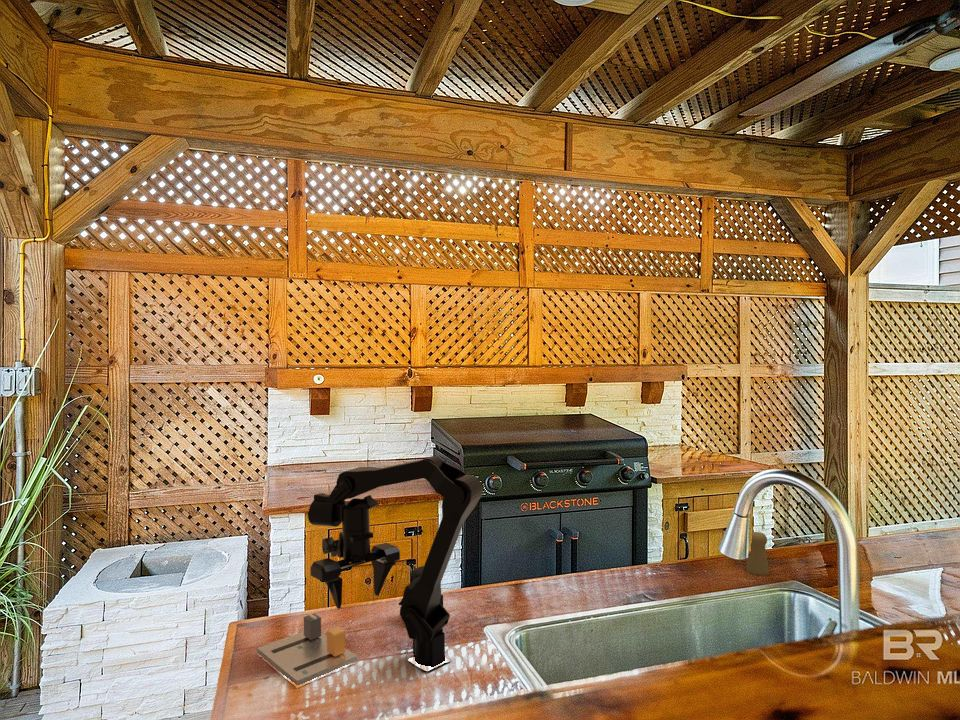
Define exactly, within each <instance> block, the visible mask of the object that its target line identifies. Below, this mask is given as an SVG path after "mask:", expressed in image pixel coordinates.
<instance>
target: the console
mask: <svg viewBox="0 0 960 720" xmlns="http://www.w3.org/2000/svg"><path fill="white" fill-rule="evenodd" d="M257 653H258V654H259V655H261V656H262V657H263V658H264V659H265V660H267V661H268V662H269V663H270V664H271V665H272V666H274V667H275V668H276V669H277V670H278V671H280V672H281V673H282V674H283V675H285V676H286V677H287V678H289V679H290V680H291V681H292V682H294V683H295V684H296V685H300V684H303V683H305V682H307V681H310V680H312V679H314V678H316V677H319V676H321V675H324V674H326V673H329V672H331V671H333V670H335V669H338V668H340V667H342V666H345V665H348V664H350V663H353V662H355V661H357V660H358V655H357V654H355V653H354V652H352V651H351V650H350V649H347V648H346V647H345V653H342V654H340V655H337V656H335V657H334V656H333V655H331V654H330V653H329V652H327V634H325V633H323V632H322V631H321V636H320V637H318V638H315V639H312V640H310V639H308V638H307V637H305V636H304V630H303V631H300V632H298V633H295V634H293V635H289V636H287V637H284V638H282V639H278V640H275V641H272V642H270V643H267V644H264V645H261V646H258V647H257V648H256V654H257ZM358 661H359V660H358Z"/></svg>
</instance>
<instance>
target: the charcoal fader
mask: <svg viewBox="0 0 960 720" xmlns="http://www.w3.org/2000/svg"><path fill="white" fill-rule="evenodd" d="M303 631H304V636H305V637H307V638H308V639H310V640H312V639H315V638H318V637H320V636H321V632H322V617H321V616H319V615H318V614H316V613H311V612H310V613H309V612H308V613H307V615H306V616H303Z"/></svg>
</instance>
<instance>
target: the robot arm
mask: <svg viewBox="0 0 960 720" xmlns="http://www.w3.org/2000/svg"><path fill="white" fill-rule="evenodd" d="M420 479H425V481H427V482H428V483H429V484H430V486H431V487H432V489H433V490H434V491H435V492H436V493H437V494H438V495H440V496H441V497H442V502H441V514H442V515H441V520H440V523H439V526H438V528H437V531H436V533H435V536H434V538H433V542H432V544H431V547H430V550H429V552H428V555H427V557H426V561H425V563H424V565H423V566H424V568H423V570H422V573H421V576H420V577H418V578H416V579H415V580H414V581H413V580H412V581H411V582H410V583H409V584H407V585H406V586H405V588H404V590H403V595H402V599H401V600H400V602H398V606H400V608H399V616H400V617H401V620H402V621H403V623H404V626H405V629H406V630H405V631H406V632H407V636H408V638H409V639H411V640H412V655H413V656H414V657H415V661H416V662H417V663H418V664H421V665H425V666H431V667H434V666H436V665H438V664H440V663H442V662H443V661H445V655H446V648H445V647H446V643H445V642H446V635H445V632H444V629H443V628H444V627H445V626H447V625H448V623H449V621H450V617H451V614H450V613H449V612H448V611H447V609H446V608H445V607H444V605H443V606H442V605H441V603H440V598H441V590H442V582H443V581H442V580H443V578H444V575H445V572H446V570H447V567H448V565H449V562H450V559H451V557H452V554H453V552H454V549H455V547H456V544H457V541H458V538H459V536H460V533H461V531H462V528H463V525H464V523H465V521H466V520H467V518H468V517H470V516H469V515H471V513H472V512H473V511H474V509H475V507H476V506H477V504H478V503H479V501H480V500H481V497H482V496H483V492H484V487H483V485H482V481H480V479H479V478H478V477H476V476H475V475H473V474H468V473H466V472H465V471H464V470H462V469H460V468H458V467H456V466H454V465H452V464H451V463H448V462H446V461H445V460H443V459H442V458H440V457H438V456H436V455H431V456H428V457H426V458H423V459H418V460H414V461H409V462H403V463H399V464H394V465H388V466H386V467H385V466H384V467H376V466H359V467H355V468H351V469H348V470H345V471H342V472H341V473H339V474H338V477H337V480H336V484H335V486H334V488H332V490H331V492H330V493H329V494H328V493H324V492H322V493H321V492H319V493H316V494H314V495H313V500H312V502H311V504H310V506H309V509H308V511H307V518H308V519H307V520H308V521H309V523H310V525H313V526H321V527H334V528H335V527H339V526H340V525H341V527H342V528H341V529H342V531H341V532H339V534H338V539H336V540H335V539H334V537H332V536H331V537H326V538H322V539H321V540H322V541H321V547H322V549H321V550H322V553H323V554H324V555H327V554H328V555H329V554H330V556H331V558H329V557H327V558H323V559H320V560H316V561H312V562H313V563H312V564H311V566H310V576H311V577H312V578H315V579H317V580H318V581H321V582H324V583H325V584H326V585H327V588H328V590H329V592H330V595H331V596H332V600H333V602H334V604H335V607H336V609H338V610H340V609H341V607H342V603H343V601H342V600H343V598H342V597H343V578H342V577H340V576H341V574H342V570H347V569H349V568H353V567H357V566H359V565H364V564H366V563H367V564H368V563H371V565H372V569H373V591H374V592H373V593H374V596H377V597H378V596H379V595H380V593H381V591H382V588H383V586H384V584H385V582H386V579H387V577H388V575H389V574H390V571H391V569H392V568H393V566H396V564H397V563H396V562H397V561H399V560H401V550H400V548H399V547H398V546H396V545H394V544H391V543H388V542H384V543H379V544H376V545H373V546H372V548H371V539H373V538H374V533H373V532H372V531H371V530H370V529H371V528H370V527H371V526H370V510H371V509H373V508H375V507H377V506H379V502H378V501H377V500H375V498H374V497H372V495H371V494H370V495H369V494H368V495H367V496H364V497H363V498H360V497H359V498H356V497H358V496H361V495H363V494H365V493H369V492H371V491H373V490H375V489H378V488H381V487H387V486H390V485H396V484H401V483H407V482H411V481H416V480H420ZM349 499H350V500H349ZM346 500H349V501H346ZM336 556H337V558H342V559H339V560H337V561H336V560H335V559H332V558H334V557H336Z"/></svg>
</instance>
